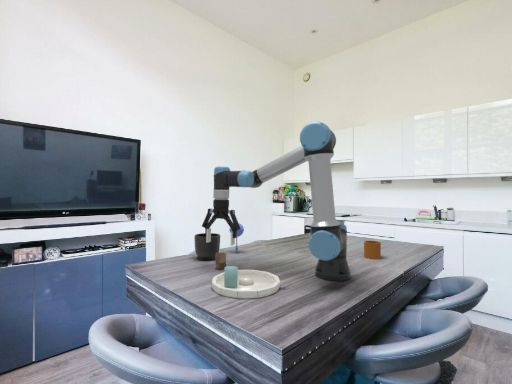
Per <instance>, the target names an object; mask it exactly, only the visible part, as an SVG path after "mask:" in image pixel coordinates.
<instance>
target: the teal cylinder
mask: <svg viewBox="0 0 512 384" xmlns="http://www.w3.org/2000/svg"><path fill="white" fill-rule="evenodd" d="M238 268H239V267H238V266H235V265H226V267H225V268H224V271H223V272H224V287H225V288H231V289H232V288H236V287H237V286H238V270H239V269H238Z"/></svg>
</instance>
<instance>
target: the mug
mask: <svg viewBox="0 0 512 384" xmlns="http://www.w3.org/2000/svg"><path fill="white" fill-rule="evenodd" d="M381 244H382V243H381V242H380V241H377V240H363V257H364V258H365V259H368V258H369V260H380V258H381V257H382V255H381V252H382V248H381V246H382V245H381ZM381 259H382V258H381Z"/></svg>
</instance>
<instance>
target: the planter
mask: <svg viewBox="0 0 512 384" xmlns="http://www.w3.org/2000/svg"><path fill="white" fill-rule="evenodd" d="M220 249H221V234H220V233H213V232H211V242H208V243H207V242H206V235H205V233H201V232H200V233H197V234H195V235H194V251H195V254H196V256H197V257H198V258H199V259H200V260H202V261H212V260H214V259H215V255H216V253H220Z"/></svg>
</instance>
